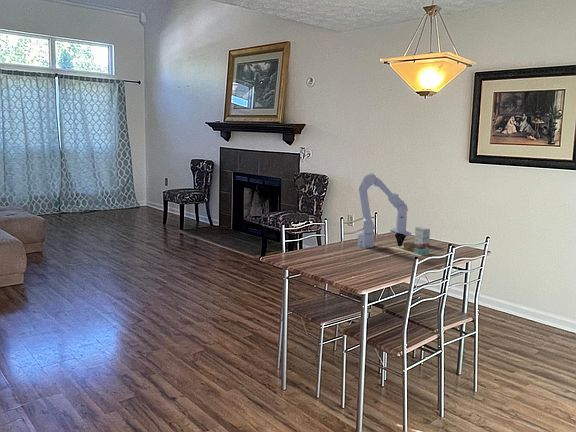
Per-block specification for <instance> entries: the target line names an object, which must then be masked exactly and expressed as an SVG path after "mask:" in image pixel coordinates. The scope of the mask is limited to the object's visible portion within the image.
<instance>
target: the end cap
mask: <svg viewBox="0 0 576 432" xmlns="http://www.w3.org/2000/svg"><path fill="white" fill-rule="evenodd" d="M429 252H430V248H429V247H425V249H417V248H414V254H418V255H422V256H425V255H424V254H427V255H430V254H429Z"/></svg>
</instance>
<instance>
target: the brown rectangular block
mask: <svg viewBox="0 0 576 432" xmlns="http://www.w3.org/2000/svg"><path fill="white" fill-rule="evenodd" d="M414 243H415V242H408V241H407V242H403V245H404V250H407V251H410V252H414V248H417V249H425V246H422V245H418V244H414Z"/></svg>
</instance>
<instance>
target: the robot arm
mask: <svg viewBox="0 0 576 432" xmlns="http://www.w3.org/2000/svg"><path fill="white" fill-rule="evenodd" d="M371 186H375V187H377V188H379V189H380V191H382V192H383V193H384V194H385V195H386V196H387V201H388V202H389V203H390V204H391V205H392V207H394V208H396V211H397V213H396V223H395V228H390V233H394V237H395V239H396V243H397V244H396V245H397V246H399V247H400V246H402V245H404V241H405V239H406V238H407V237H412V234H413V233H412V232H409V231H408V230H407V223H408V222H407V218H408V215H407V214H408V211H409V207H408V205H407V204H406V203H405V201H404V200H402V199H401V197H400V196H399V194H398V193H397V194H396V192H392V191H391V190H390V188H388V187H387V185H386V184H385V183H384V182H383V180H381V178H379V177H378V176H377V175H375V174H374V173H373V172H369V173H367V174H366V175H365V176H363V178H362V181H361V182H360V185H359V188H358V193H359V198H360V199H359V200H360V206H361V213H362V218H363V225H362V226H363V227H362V231H361V233H360V234H358V237H357V247H359V248H363V249H367V248H373V247H375V231H374V230H375V224H374V222H373V220H372V216H371V210H370V202H369V201H370V200H369V197H368V190H369V189H370V187H371Z"/></svg>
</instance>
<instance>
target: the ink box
mask: <svg viewBox="0 0 576 432" xmlns="http://www.w3.org/2000/svg"><path fill="white" fill-rule="evenodd" d="M430 234H431V228H427V227H424V226H415V228H414V242H413V243H414V244H418V245H422V246H425V247H427V248H429V246H430V237H431V236H430Z"/></svg>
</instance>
